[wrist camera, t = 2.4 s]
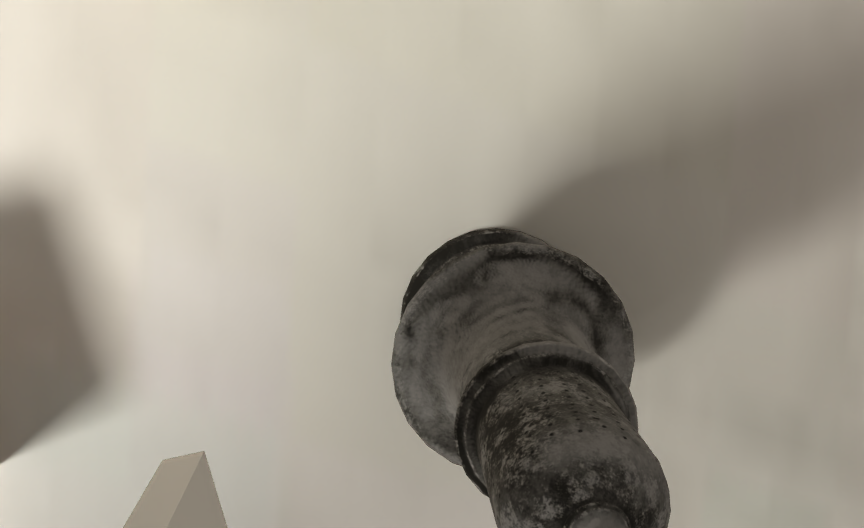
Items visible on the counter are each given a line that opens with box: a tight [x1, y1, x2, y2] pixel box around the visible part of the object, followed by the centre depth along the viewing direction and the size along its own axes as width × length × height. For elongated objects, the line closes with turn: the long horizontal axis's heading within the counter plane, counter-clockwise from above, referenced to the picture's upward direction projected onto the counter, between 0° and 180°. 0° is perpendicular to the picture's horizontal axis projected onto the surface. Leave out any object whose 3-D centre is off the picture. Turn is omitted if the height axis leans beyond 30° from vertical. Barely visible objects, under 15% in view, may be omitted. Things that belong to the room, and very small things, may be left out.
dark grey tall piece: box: [391, 228, 671, 528], centre depth 17 cm, size 6×6×12 cm
